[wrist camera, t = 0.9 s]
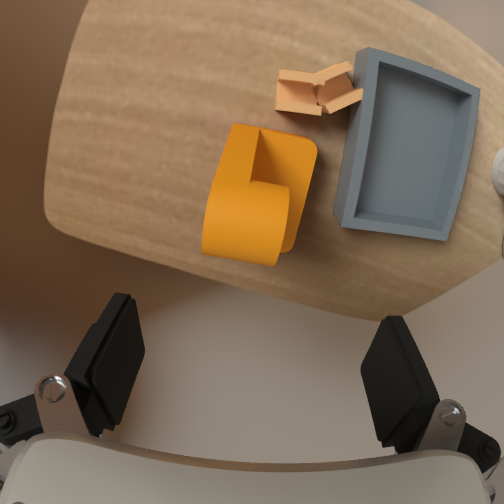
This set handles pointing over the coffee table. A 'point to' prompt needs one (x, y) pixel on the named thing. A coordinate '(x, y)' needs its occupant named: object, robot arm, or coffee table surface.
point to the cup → (498, 172)
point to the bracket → (258, 195)
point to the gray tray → (405, 147)
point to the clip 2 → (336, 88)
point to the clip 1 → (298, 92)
